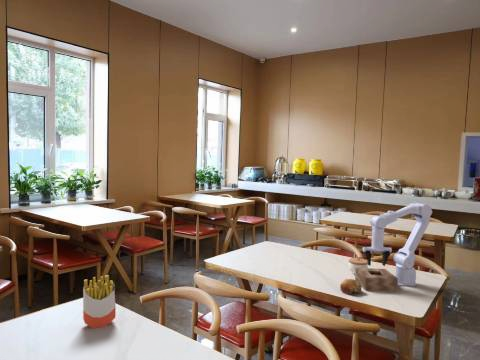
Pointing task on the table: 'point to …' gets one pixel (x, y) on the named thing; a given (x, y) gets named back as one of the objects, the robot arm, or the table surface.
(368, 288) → the coin box
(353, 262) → the lidded jar
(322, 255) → the table surface
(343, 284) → the bread roll
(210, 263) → the table surface
